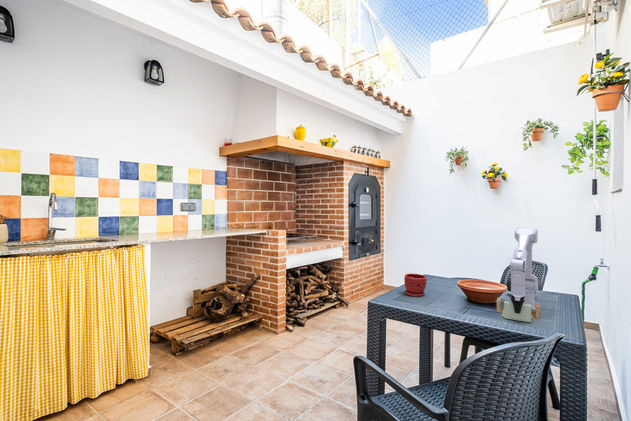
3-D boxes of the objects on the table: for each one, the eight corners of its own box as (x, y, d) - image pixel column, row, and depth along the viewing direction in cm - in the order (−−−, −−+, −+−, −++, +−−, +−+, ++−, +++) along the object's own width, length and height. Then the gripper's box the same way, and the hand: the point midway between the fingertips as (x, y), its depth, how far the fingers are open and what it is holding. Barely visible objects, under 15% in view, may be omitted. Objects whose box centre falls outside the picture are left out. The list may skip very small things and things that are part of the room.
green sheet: (504, 315, 163) (504, 300, 163) (530, 319, 157) (531, 304, 157) (504, 318, 160) (504, 302, 160) (530, 322, 154) (531, 306, 154)
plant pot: (402, 296, 199) (403, 276, 198) (405, 291, 211) (405, 272, 210) (425, 298, 194) (425, 278, 193) (427, 293, 206) (427, 274, 205)
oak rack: (497, 308, 176) (497, 297, 176) (539, 314, 166) (539, 303, 166) (496, 311, 170) (496, 300, 170) (539, 318, 160) (539, 306, 160)
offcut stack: (502, 314, 168) (502, 309, 168) (533, 319, 160) (533, 314, 160) (501, 316, 164) (502, 311, 164) (532, 322, 157) (533, 316, 157)
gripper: (508, 280, 166) (508, 306, 167) (507, 286, 154) (507, 314, 154) (525, 281, 163) (524, 309, 163) (525, 288, 150) (525, 317, 151)
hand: (517, 311), depth 158 cm, fingers closed on green sheet, 4 cm apart
